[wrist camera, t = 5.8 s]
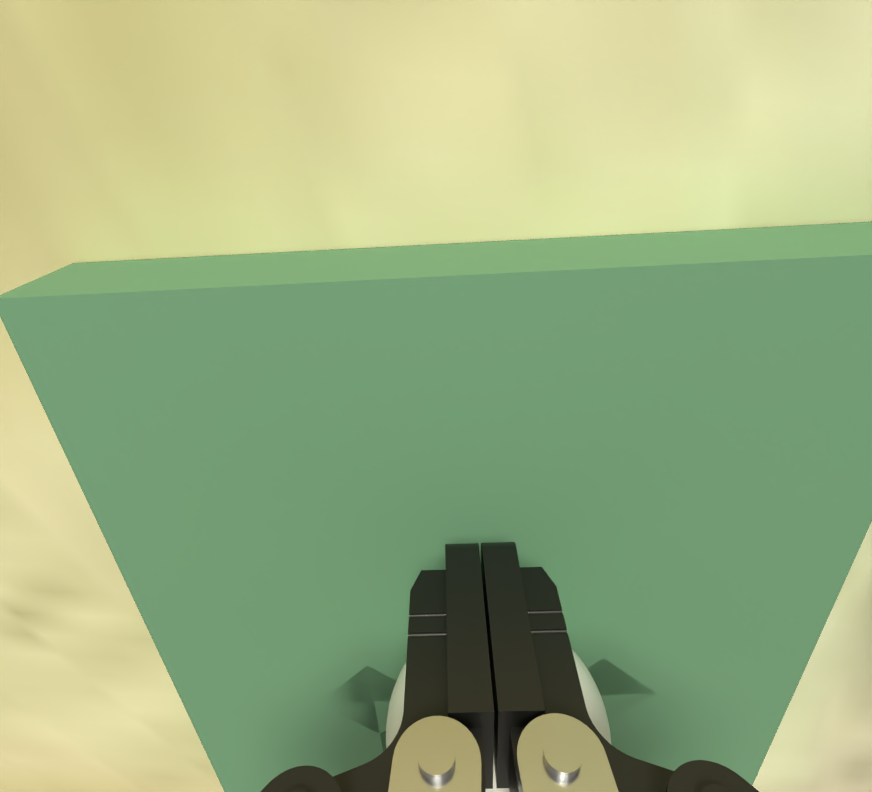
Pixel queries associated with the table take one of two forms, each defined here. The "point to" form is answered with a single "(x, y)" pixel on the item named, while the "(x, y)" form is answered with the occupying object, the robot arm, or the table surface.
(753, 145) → the table surface
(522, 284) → the putting mat
